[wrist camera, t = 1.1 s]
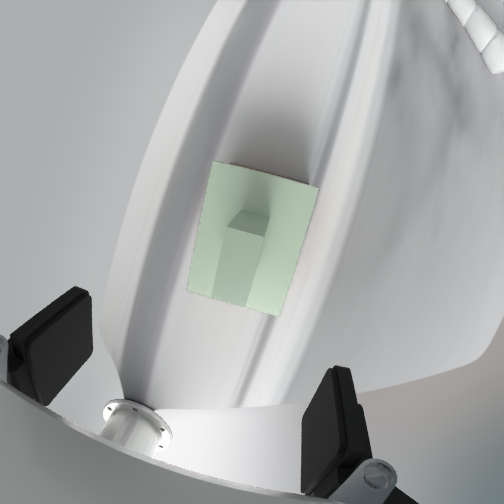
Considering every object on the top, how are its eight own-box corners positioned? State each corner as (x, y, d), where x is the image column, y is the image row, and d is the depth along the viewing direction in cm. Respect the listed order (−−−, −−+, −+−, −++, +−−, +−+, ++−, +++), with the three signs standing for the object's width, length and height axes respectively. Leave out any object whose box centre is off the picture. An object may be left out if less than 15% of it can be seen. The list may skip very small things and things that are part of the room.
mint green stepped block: (280, 306, 29) (276, 356, 22) (192, 282, 30) (162, 323, 22) (316, 186, 26) (328, 199, 18) (218, 160, 26) (190, 163, 18)
